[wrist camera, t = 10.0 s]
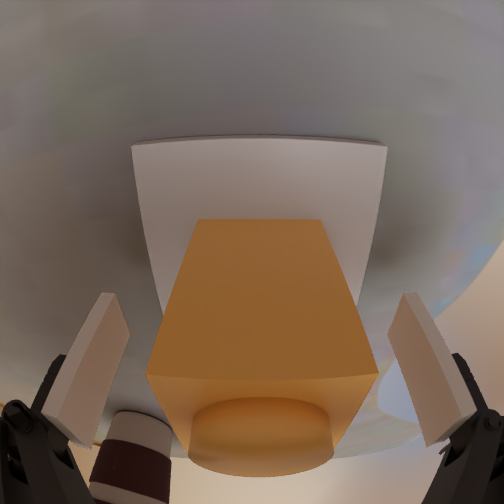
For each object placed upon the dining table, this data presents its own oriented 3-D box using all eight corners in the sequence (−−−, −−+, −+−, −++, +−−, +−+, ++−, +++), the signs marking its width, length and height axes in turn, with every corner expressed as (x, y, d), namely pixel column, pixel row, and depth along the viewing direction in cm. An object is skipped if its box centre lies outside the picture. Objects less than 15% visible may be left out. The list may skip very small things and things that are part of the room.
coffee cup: (200, 433, 30) (189, 547, 17) (151, 443, 33) (135, 535, 20) (132, 396, 26) (102, 528, 13) (91, 410, 29) (62, 511, 16)
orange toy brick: (208, 310, 18) (183, 477, 9) (198, 219, 14) (134, 412, 6) (308, 310, 18) (335, 476, 9) (320, 219, 14) (390, 411, 6)
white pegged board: (175, 340, 21) (156, 424, 15) (138, 141, 13) (59, 190, 7) (340, 340, 20) (360, 424, 15) (379, 142, 13) (460, 192, 7)
